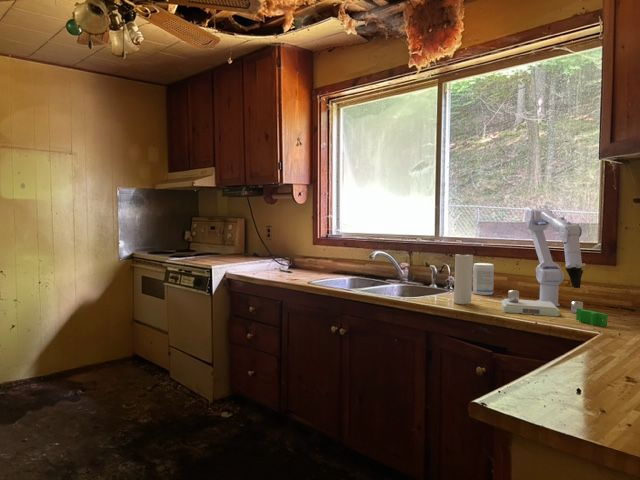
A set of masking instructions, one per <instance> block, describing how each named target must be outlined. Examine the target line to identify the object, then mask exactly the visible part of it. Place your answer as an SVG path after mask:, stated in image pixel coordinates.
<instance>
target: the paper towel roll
mask: <svg viewBox="0 0 640 480" xmlns="http://www.w3.org/2000/svg"><path fill="white" fill-rule="evenodd" d="M454 259H455V260H454V285H453V287H454V289H453V303H454V304H457V305H469V304H470V303H472V293H473V266H474V262H473V261H474V254H465V253H459V254H458V253H457V254H456V253H455V257H454Z"/></svg>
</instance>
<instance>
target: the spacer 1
mask: <svg viewBox="0 0 640 480" xmlns="http://www.w3.org/2000/svg"><path fill="white" fill-rule="evenodd" d="M507 293H508V294H507V299H508V302H512V303H518V301H519V300H520V291H519V290H514V289H510V290H508V292H507Z"/></svg>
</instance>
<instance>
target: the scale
mask: <svg viewBox="0 0 640 480" xmlns="http://www.w3.org/2000/svg"><path fill="white" fill-rule="evenodd" d="M500 304H501V310H502V311H503V313H506V312H508V313H509V314H519V313H522V314H521V315H532V314H534V316H545V317H547V316H548V317H557V316H559V317H560V309H559V308H558V306H555V305H554V304H553V303H552V302H547V301H537V300H532V299H519V301H518V303H512V302H508V298H504V299H501V303H500ZM508 313H507V314H508Z"/></svg>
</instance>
